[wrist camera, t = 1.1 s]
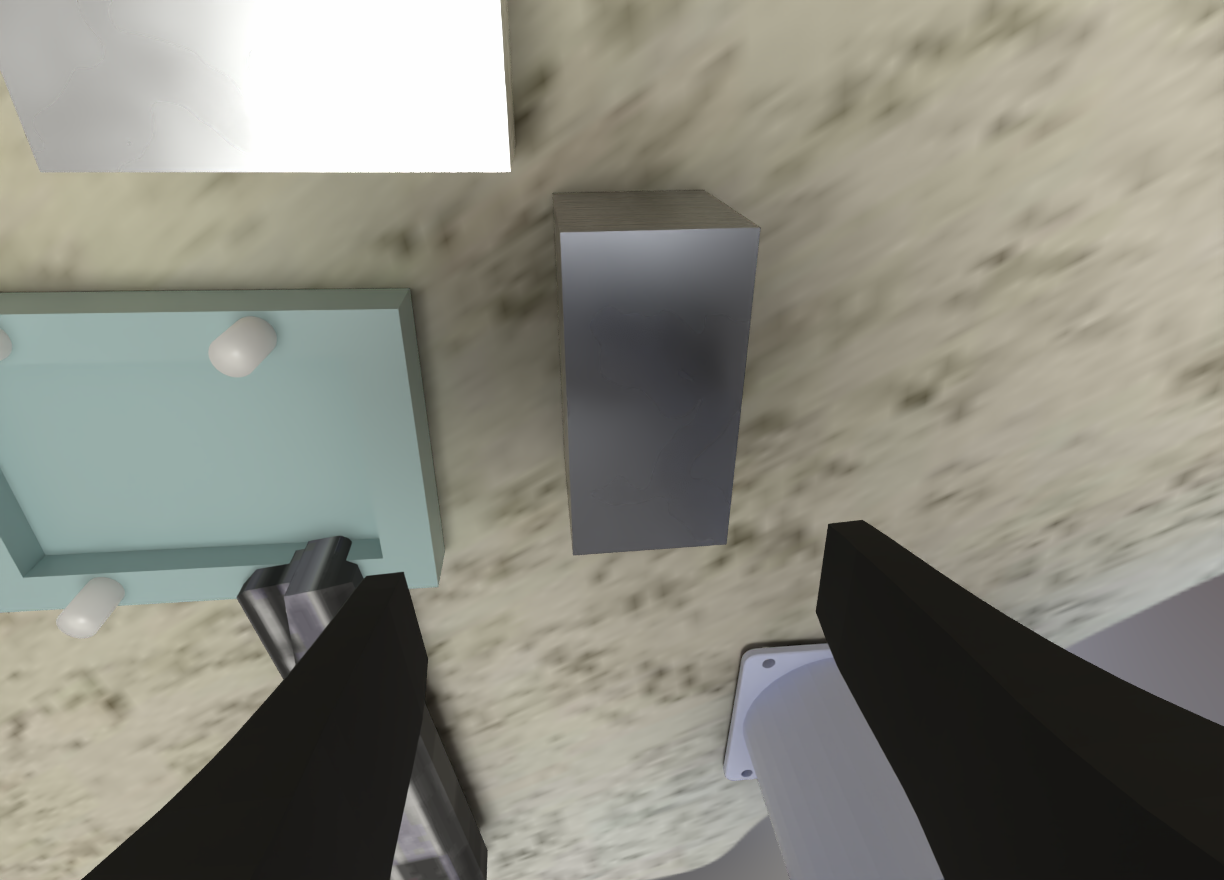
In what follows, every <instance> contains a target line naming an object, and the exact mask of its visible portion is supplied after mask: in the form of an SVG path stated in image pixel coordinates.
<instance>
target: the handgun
mask: <svg viewBox="0 0 1224 880" xmlns="http://www.w3.org/2000/svg"><path fill="white" fill-rule="evenodd" d="M351 545H352V541H351V540H350V539H349V538H347V537H344V536H341V535H340V536H334V537H328V538H323V539H317V540H311V541H308V543H307V546H306V548H305V549H301V550H296V551H295V553H294V555H293V557H292V559H291V561H290V563H289V564H284V565H278V566H272V567H267V568H261V569H256V570H255V572H254V573H253V574H252V575H251V576H250V577H249V578H248V580H247V581H246V582H245V583H244V584H243V586H242V588H241V590H240V592H239V593H238V595H237V597H236V598H237V600H238V601H239V603H240V605H241V606H242V608H243V610H244V612H245V613H246V615H247V617H248V619H249V620H250V622H251V624H252V626H253V627H254V629H255V631H256V633H257V634H258V636H259V638H260V639H261V641H262V643H263V645H264V646H265V648H266V650H267V652H268V653H269V655H270V657H271V659H272V660H273V662H274V664H275V666H276V667H277V669H278V671H279V673H280V674H281V676H282V678H283V679H285V677H286V676H287V675H288V674H289V672H290V671H291V670H292V669H293V668H294V666H295V665H296V664H297V663H298V661H299V660H300V659H301V658H302V657H303V655H304V654H305V653H306V652H307V650H308V649H309V648H310V647H311V645H312V644H313V643H314V642H315V640H316V639H317V638H318V637H319V635H320V634H321V633H322V631H323V630H324V629H325V628H326V626H327V625H328V624H329V622H330V621H331V620H332V619H333V617H334V616H335V615H336V613H337V612H338V611H339V609H340V608H341V607H342V606H343V604H344V603H345V602H346V600H347V599H348V598H349V596H350V595H351V594H352V593H353V591H354V590H355V589H356V588H357V586H358V585H359V584H360V582H361V581H362V580H363V579H364V578H363V576H362V574H361V571H360V569H359V567H358V564H355V563H352V562H349V561H346V559H347V556H348V553H349V551H350V548H351ZM286 612H287V613H286ZM487 851H488V850H487V848H486V846H485V843H484V841H483V839H482V836H481V834H480V831H479V829H478V827H477V824H476V822H475V820H474V817H473V815H472V813H471V810H470V808H469V805H468V803H467V801H466V798H465V796H464V794H463V791H462V789H461V787H460V784H459V782H458V780H457V777H456V775H455V772H454V770H453V768H452V765H451V763H450V761H449V758H448V756H447V754H446V751H445V749H444V746H443V744H442V742H441V739H440V737H439V735H438V732H437V730H436V728H435V725H434V723H433V721H432V718H431V716H430V713H429V711H428V709H427V706H426V704H425V702H424V712H423V720H422V725H421V731H420V736H419V741H418V745H417V750H416V755H415V760H414V765H413V770H412V774H411V779H410V784H409V789H408V793H407V798H406V803H405V808H404V812H403V817H402V822H401V827H400V831H399V836H398V841H397V846H396V850H395V855H394V860H393V865H392V871H391V877H390V880H487Z"/></svg>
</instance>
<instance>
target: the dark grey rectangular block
mask: <svg viewBox="0 0 1224 880" xmlns="http://www.w3.org/2000/svg"><path fill="white" fill-rule="evenodd" d="M553 214H554V237H555V259H556V282H557V304H558V327H559V350H560V372H561V395H562V417H563V440H564V460H565V471H566V482H567V494H568V505H569V516H570V527H571V538H572V549H573V555H585V554H599V553H613V552H627V551H641V550H654V549H668V548H682V547H696V546H710V545H724V544H726V543H727V534H728V525H729V516H730V506H731V497H732V488H733V478H734V469H735V460H736V451H737V441H738V432H739V423H740V413H741V404H742V395H743V386H744V376H745V367H746V358H747V348H748V339H749V330H750V321H751V311H752V302H753V293H754V283H755V274H756V265H757V256H758V246H759V237H760V227H759V226H757V225H756V224H754V223H753V222H751V221H750V220H748V219H747V218H745V217H744V216H742V215H741V214H739V213H738V212H736V211H735V210H733V209H732V208H730V207H729V206H727V205H726V204H724V203H723V202H721V201H720V200H718V199H717V198H715V197H714V196H712V195H711V194H709V193H708V192H706V191H705V190H675V191H623V192H571V193H553Z"/></svg>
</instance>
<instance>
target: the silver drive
mask: <svg viewBox="0 0 1224 880" xmlns="http://www.w3.org/2000/svg"><path fill="white" fill-rule="evenodd" d="M0 70H1V73H2V75H3V78H4V81H5V83H6V86H7V88H8V91H9V93H10V96H11V99H12V101H13V104H14V106H15V109H16V111H17V114H18V116H19V119H20V122H21V124H22V127H23V129H24V132H25V134H26V137H27V139H28V142H29V145H30V147H31V150H32V152H33V155H34V157H35V160H36V162H37V165H38V168H39V170H40V172H510V171H511V167H512V162H513V157H514V152H515V147H516V144H515V126H514V108H513V90H512V72H511V54H510V36H509V18H508V0H0Z"/></svg>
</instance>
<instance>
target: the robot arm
mask: <svg viewBox="0 0 1224 880" xmlns="http://www.w3.org/2000/svg"><path fill="white" fill-rule="evenodd" d="M816 614H817V616H818V619H819V622H820V624H821V627H822V630H823V632H824V635H825V638H826V640H827V643H825V644H811V645H797V646H783V647H769V648H756V649H751V650H749V651H747V652H746V653H745V654H744V655H743V657H742V660H741V666H740V672H739V678H738V684H737V690H736V696H735V701H734V707H733V713H732V719H731V725H730V731H729V737H728V743H727V749H726V755H725V761H724V767H723V769H724V774H725V777H726V778H727V779H729V780H732V781H736V780H747V779H757V780H758V783H759V786H760V789H761V792H762V795H763V798H764V801H765V805H766V808H767V811H768V814H769V817H770V820H771V823H772V826H773V829H774V832H775V835H776V839H777V842H778V845H779V848H780V851H781V854H782V857H783V860H784V863H785V866H786V869H787V873H788V876H789V879H790V880H1224V726H1221V725H1219V724H1217V723H1215V722H1212V721H1210V720H1208V719H1206V718H1203V717H1201V716H1199V715H1197V714H1194V713H1193V712H1190V711H1188V710H1186V709H1183V708H1181V707H1179V706H1177V705H1175V704H1173V703H1170V702H1168V701H1166V700H1164V699H1162V698H1159V697H1157V696H1155V695H1153V694H1151V693H1149V692H1147V691H1145V690H1143V689H1140V688H1138V687H1136V686H1134V685H1132V684H1130V683H1128V682H1126V681H1124V680H1122V679H1120V678H1118V677H1116V676H1114V675H1112V674H1110V673H1109V672H1107V671H1105V670H1103V669H1101V668H1099V667H1097V666H1095V665H1093V664H1091V663H1089V662H1087V661H1085V660H1083V659H1082V658H1080V657H1078V656H1076V655H1074V654H1072V653H1070V652H1068V651H1067V650H1065V649H1063V648H1061V647H1060V646H1058V645H1056V644H1054V643H1052V642H1051V641H1049V640H1047V639H1045V638H1044V637H1042V636H1040V635H1038V634H1037V633H1035V632H1033V631H1032V630H1030V629H1028V628H1027V627H1025V626H1023V625H1022V624H1020V623H1018V622H1017V621H1015V620H1013V619H1012V618H1010V617H1008V616H1007V615H1005V614H1003V613H1002V612H1000V611H999V610H997V609H995V608H994V607H992V606H991V605H989V604H987V603H986V602H984V601H983V600H981V599H980V598H978V597H977V596H975V595H973V594H972V593H970V592H969V591H967V590H966V589H964V588H963V587H961V586H960V585H958V584H957V583H955V582H954V581H952V580H951V579H949V578H948V577H946V576H945V575H943V574H942V573H940V572H939V571H937V570H936V569H934V568H933V567H931V566H930V565H929V564H927V563H926V562H924V561H923V560H921V559H920V558H918V557H917V556H915V555H914V554H913V553H911V552H910V551H908V550H907V549H905V548H904V547H902V546H901V545H899V544H898V543H897V542H895V541H894V540H892V539H891V538H889V537H888V536H886V535H885V534H883V533H882V532H880V531H879V530H877V529H876V528H874V527H873V526H871V525H870V524H868V523H867V522H865V521H863V520H858V521H849V522H840V523H832V524H828V529H827V536H826V543H825V550H824V558H823V565H822V572H821V579H820V586H819V593H818V600H817V607H816ZM767 659H768V660H767ZM427 665H428V657H427V654H426V650H425V647H424V643H423V639H422V636H421V632H420V628H419V625H418V621H417V618H416V614H415V610H414V607H413V603H412V599H411V596H410V592H409V589H408V585H407V581H406V578H405V574H404V572H396V573H387V574H378V575H369V576H366V577H365V578H364V579H363V580H362V581H361V582H360V584H359V585H358V586H357V588H356V589H355V590H354V591H353V593H352V594H351V595H350V596H349V598H348V599H347V600H346V602H345V603H344V604H343V606H342V607H341V608H340V609H339V611H338V612H337V613H336V615H335V616H334V617H333V619H332V620H331V621H330V622H329V624H328V625H327V626H326V628H325V629H324V630H323V631H322V633H321V634H320V635H319V637H318V638H317V639H316V640H315V642H314V643H313V644H312V645H311V647H310V648H309V649H308V650H307V652H306V653H305V654H304V655H303V657H302V658H301V659H300V660H299V661H298V663H297V664H296V665H295V666H294V668H293V669H292V670H291V671H290V672H289V674H288V675H287V676H286V677H285V679H284V680H283V681H282V682H281V683H280V685H279V686H278V687H277V688H276V689H275V690H274V692H273V693H272V694H271V695H270V696H269V697H268V698H267V700H266V701H265V702H264V703H263V704H262V705H261V706H260V707H259V709H258V710H257V711H256V712H255V713H254V714H253V715H252V716H251V718H250V719H249V720H248V721H247V722H246V723H245V724H244V725H243V727H242V728H241V729H240V730H239V731H238V732H237V733H236V734H235V736H234V737H233V738H232V739H231V740H230V741H229V742H228V743H227V744H226V745H225V746H224V747H223V748H222V749H221V750H220V751H219V752H218V754H217V755H216V756H215V757H214V758H213V759H212V760H211V761H210V762H209V763H208V764H207V765H206V766H205V767H204V768H203V769H202V770H201V771H200V772H199V773H198V774H197V775H196V776H195V777H194V778H193V779H192V780H191V781H190V782H189V783H188V784H187V785H186V786H185V787H184V788H183V789H182V790H181V791H180V792H178V793H177V794H176V795H175V796H174V797H173V798H172V799H171V800H170V801H169V802H168V803H167V804H166V805H165V806H164V807H163V808H162V809H161V810H160V811H158V812H157V813H156V814H155V815H154V816H153V817H152V818H151V819H150V820H148V821H147V822H146V823H145V824H144V825H143V826H142V827H140V828H139V829H138V830H137V831H136V832H135V833H134V834H133V835H131V836H130V837H129V838H128V839H127V840H126V841H125V842H123V843H122V844H121V845H120V846H119V847H118V848H117V849H116V850H114V851H113V852H112V853H111V854H110V855H109V856H108V857H106V858H105V859H104V860H103V861H102V862H101V863H100V864H99V865H97V866H96V867H95V868H94V869H93V870H92V871H91V872H90V873H88V874H87V875H86V876H85V877H84V878H83V879H81V880H390V877H391V871H392V865H393V860H394V855H395V850H396V846H397V841H398V836H399V831H400V827H401V822H402V817H403V812H404V808H405V803H406V798H407V793H408V789H409V784H410V779H411V774H412V770H413V765H414V760H415V755H416V750H417V745H418V741H419V736H420V731H421V725H422V720H423V712H424V702H425V691H426V678H427Z"/></svg>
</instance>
